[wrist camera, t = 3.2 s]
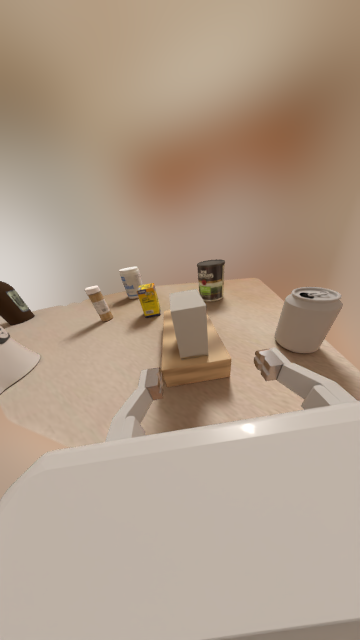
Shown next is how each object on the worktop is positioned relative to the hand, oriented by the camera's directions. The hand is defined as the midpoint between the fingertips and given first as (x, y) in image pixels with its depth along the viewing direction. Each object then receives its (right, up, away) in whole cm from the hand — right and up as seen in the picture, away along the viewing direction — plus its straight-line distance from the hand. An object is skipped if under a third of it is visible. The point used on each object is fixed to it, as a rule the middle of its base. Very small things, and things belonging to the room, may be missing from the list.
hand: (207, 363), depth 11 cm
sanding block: (0, -1, +15) cm, 15 cm away
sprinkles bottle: (-32, +4, +43) cm, 54 cm away
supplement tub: (-26, +17, +62) cm, 70 cm away
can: (+23, -2, +18) cm, 29 cm away
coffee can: (+11, +14, +46) cm, 49 cm away
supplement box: (-13, +6, +41) cm, 44 cm away
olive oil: (-84, +4, +57) cm, 102 cm away
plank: (0, -2, +23) cm, 23 cm away
